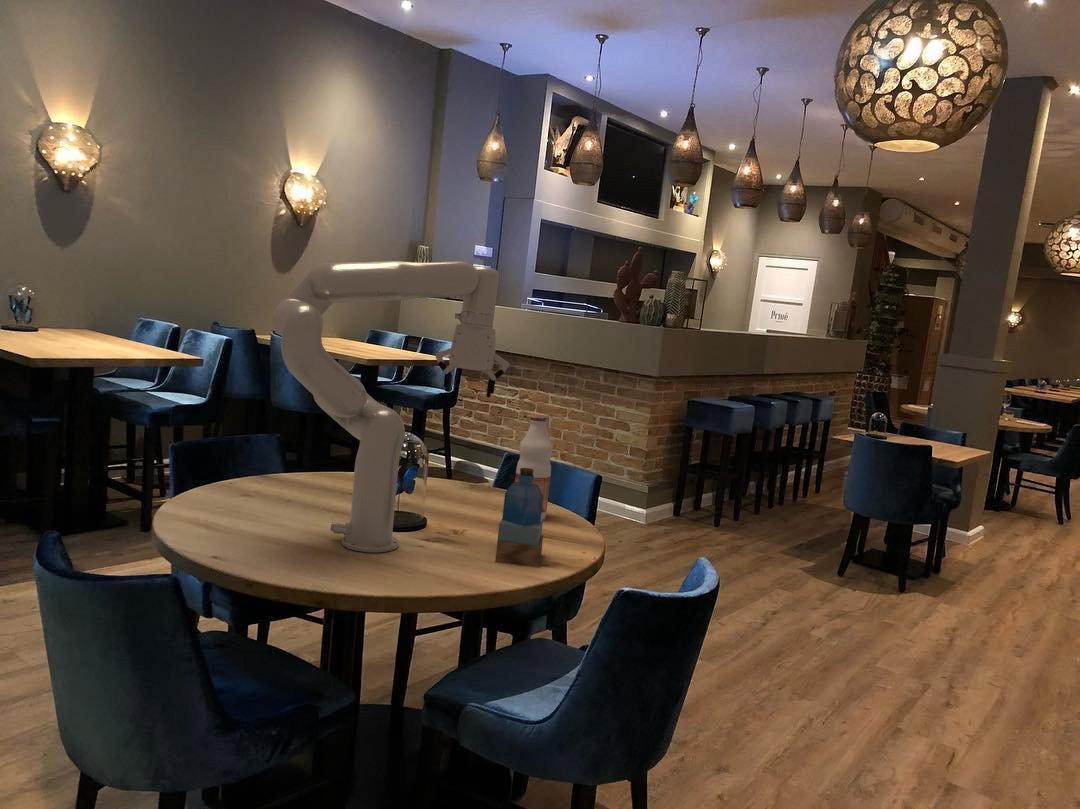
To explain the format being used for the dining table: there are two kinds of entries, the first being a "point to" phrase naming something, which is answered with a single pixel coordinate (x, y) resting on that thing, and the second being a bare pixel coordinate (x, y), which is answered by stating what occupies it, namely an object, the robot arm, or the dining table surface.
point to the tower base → (519, 553)
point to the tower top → (520, 533)
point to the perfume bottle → (523, 500)
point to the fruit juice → (537, 456)
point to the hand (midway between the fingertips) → (468, 393)
